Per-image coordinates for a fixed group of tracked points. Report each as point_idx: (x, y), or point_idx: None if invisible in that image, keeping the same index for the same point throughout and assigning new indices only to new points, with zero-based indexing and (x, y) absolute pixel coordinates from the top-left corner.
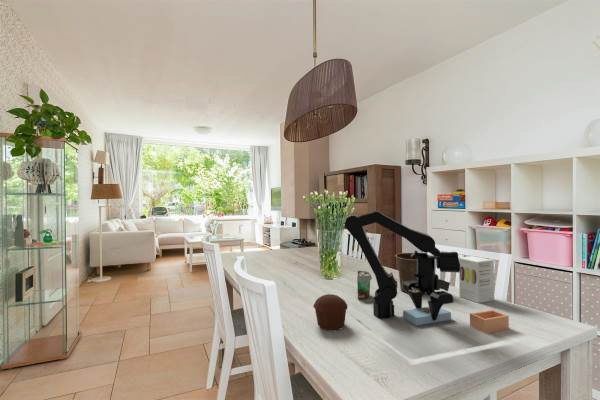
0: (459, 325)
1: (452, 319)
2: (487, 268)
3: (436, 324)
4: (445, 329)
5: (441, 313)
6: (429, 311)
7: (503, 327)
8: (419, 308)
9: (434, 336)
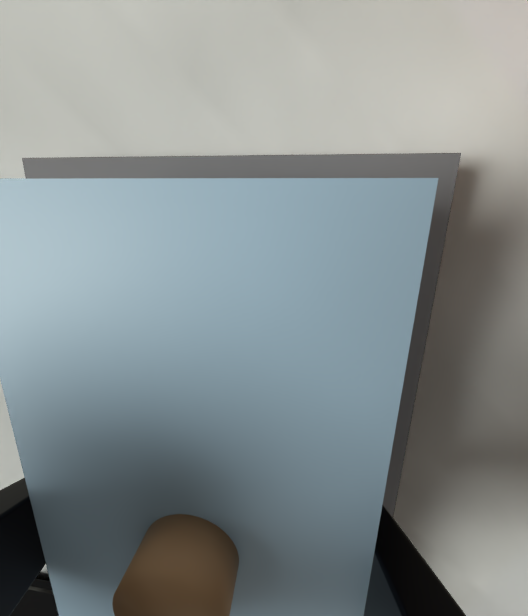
0: (476, 156)
1: (366, 157)
2: None
3: (388, 474)
4: (460, 406)
5: (375, 429)
6: (233, 561)
7: None
8: (54, 543)
9: (509, 589)
